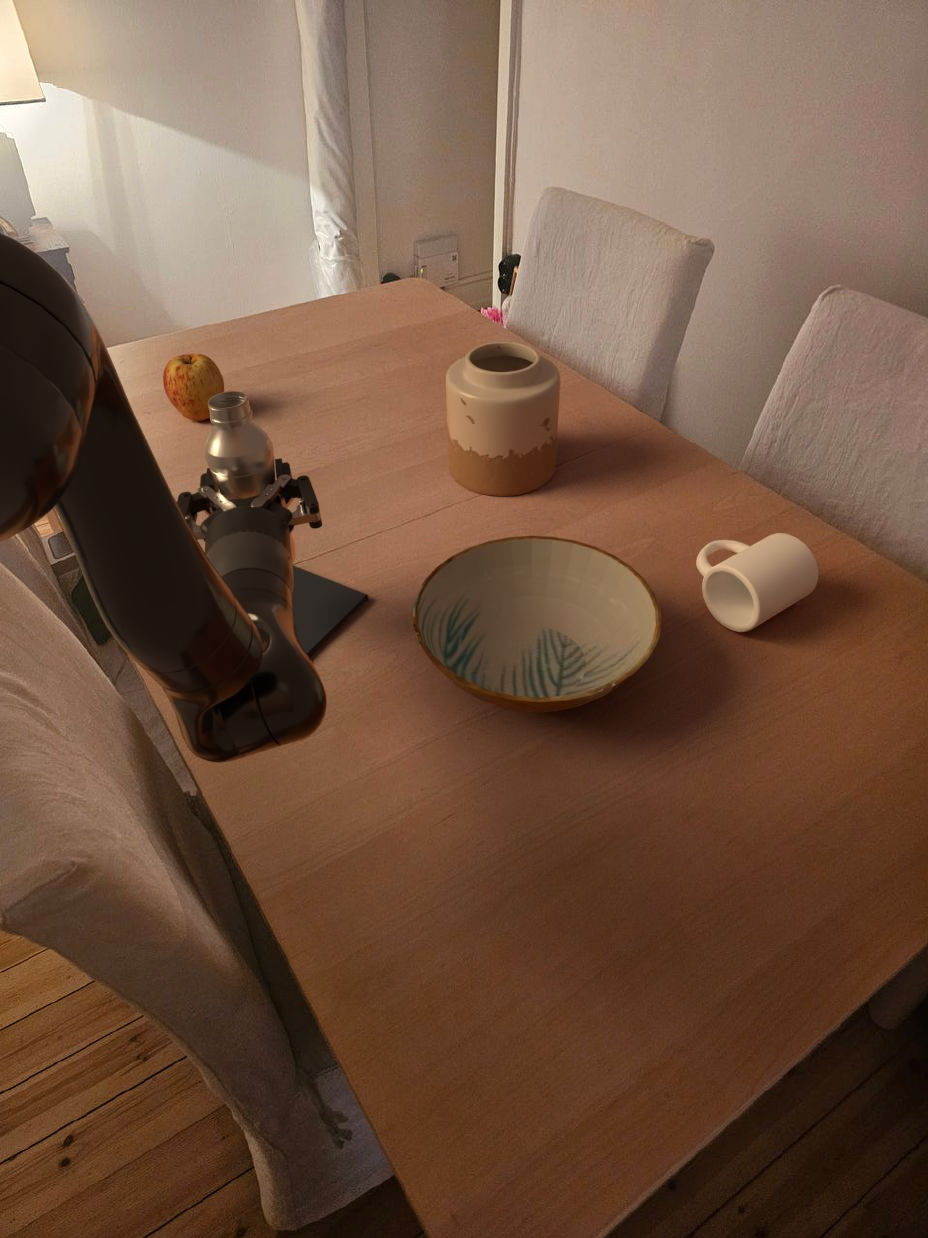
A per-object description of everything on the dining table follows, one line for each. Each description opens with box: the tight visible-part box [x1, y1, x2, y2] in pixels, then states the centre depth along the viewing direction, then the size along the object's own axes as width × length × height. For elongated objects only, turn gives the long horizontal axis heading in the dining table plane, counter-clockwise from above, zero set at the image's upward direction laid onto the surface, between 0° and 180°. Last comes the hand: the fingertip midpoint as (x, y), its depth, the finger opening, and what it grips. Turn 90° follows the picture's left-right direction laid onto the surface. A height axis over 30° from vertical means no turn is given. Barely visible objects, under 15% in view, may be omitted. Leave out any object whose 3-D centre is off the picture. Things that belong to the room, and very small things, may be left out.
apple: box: [162, 353, 225, 422], centre depth 129 cm, size 9×9×10 cm
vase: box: [444, 340, 561, 497], centre depth 112 cm, size 15×15×17 cm
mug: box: [695, 532, 819, 633], centre depth 93 cm, size 12×10×8 cm
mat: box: [293, 565, 369, 658], centre depth 95 cm, size 16×14×1 cm
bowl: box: [412, 535, 662, 713], centre depth 86 cm, size 25×25×8 cm
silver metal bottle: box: [204, 390, 296, 564], centre depth 83 cm, size 6×7×20 cm
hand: (246, 471), depth 84 cm, fingers closed on silver metal bottle, 6 cm apart
